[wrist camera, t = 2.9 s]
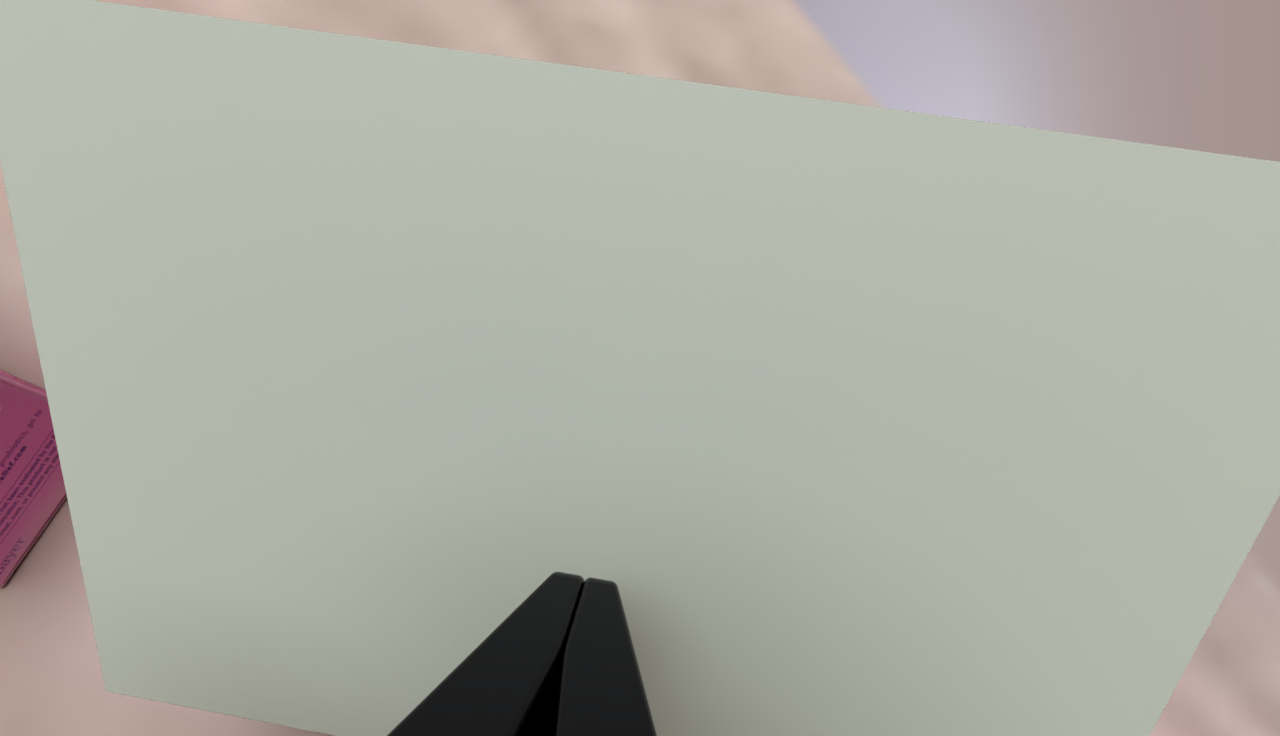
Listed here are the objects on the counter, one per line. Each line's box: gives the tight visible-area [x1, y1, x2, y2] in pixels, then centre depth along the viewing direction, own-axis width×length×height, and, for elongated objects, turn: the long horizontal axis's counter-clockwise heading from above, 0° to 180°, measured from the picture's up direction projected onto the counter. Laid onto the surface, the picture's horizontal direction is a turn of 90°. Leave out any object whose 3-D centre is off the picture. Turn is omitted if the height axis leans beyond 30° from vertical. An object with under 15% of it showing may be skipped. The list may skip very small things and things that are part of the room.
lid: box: [0, 0, 1280, 736], centre depth 11 cm, size 12×18×1 cm
